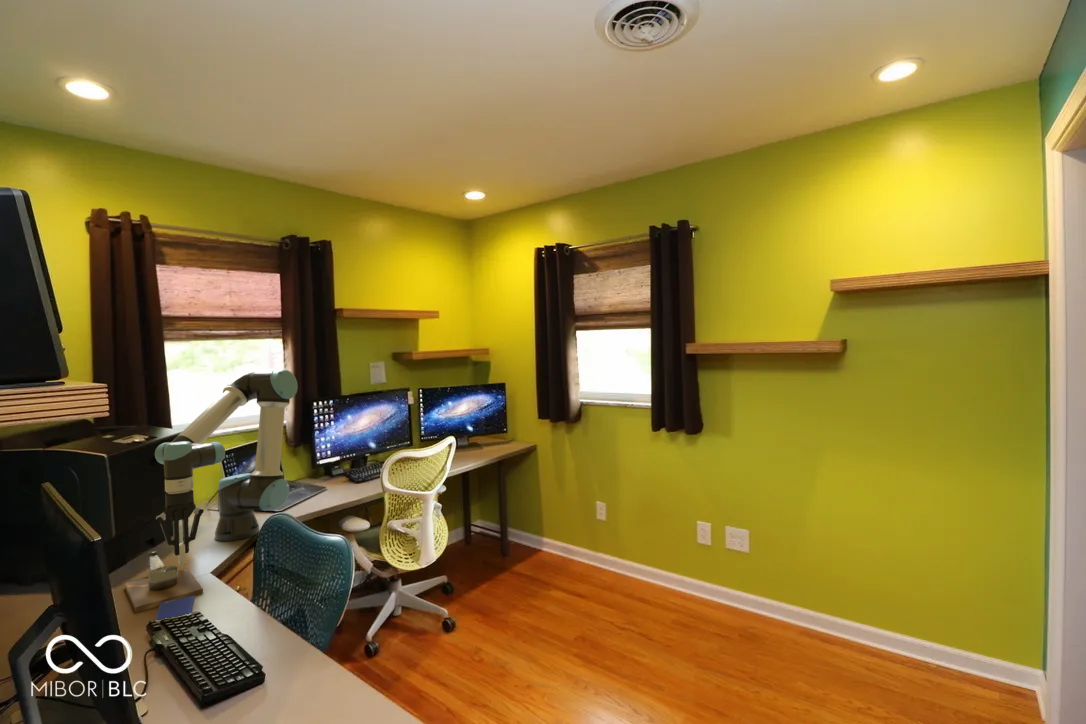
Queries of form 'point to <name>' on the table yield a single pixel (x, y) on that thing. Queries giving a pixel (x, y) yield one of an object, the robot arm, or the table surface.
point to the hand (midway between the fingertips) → (182, 564)
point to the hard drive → (175, 608)
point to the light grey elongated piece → (160, 573)
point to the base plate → (162, 591)
